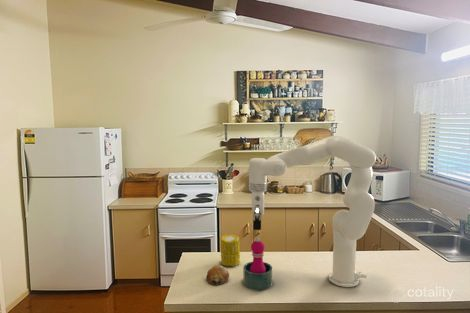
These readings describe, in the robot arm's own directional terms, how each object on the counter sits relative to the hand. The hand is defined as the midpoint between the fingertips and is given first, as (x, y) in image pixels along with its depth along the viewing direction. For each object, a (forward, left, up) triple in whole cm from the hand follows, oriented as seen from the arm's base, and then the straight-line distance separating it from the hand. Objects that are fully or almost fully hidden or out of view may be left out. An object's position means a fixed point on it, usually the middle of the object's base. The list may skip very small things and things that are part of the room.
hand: (257, 225), depth 138 cm
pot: (0, 0, -26) cm, 26 cm away
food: (+14, -18, -26) cm, 35 cm away
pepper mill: (0, 0, -26) cm, 26 cm away
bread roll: (+18, -1, -26) cm, 31 cm away
